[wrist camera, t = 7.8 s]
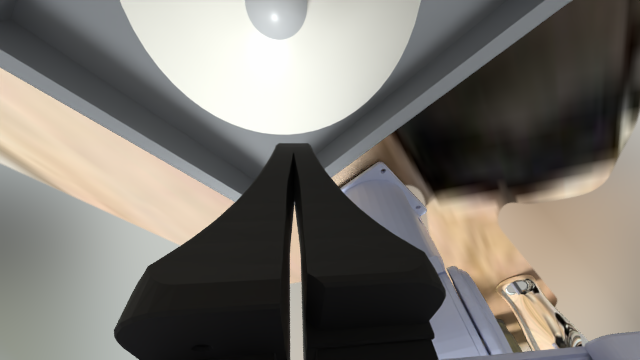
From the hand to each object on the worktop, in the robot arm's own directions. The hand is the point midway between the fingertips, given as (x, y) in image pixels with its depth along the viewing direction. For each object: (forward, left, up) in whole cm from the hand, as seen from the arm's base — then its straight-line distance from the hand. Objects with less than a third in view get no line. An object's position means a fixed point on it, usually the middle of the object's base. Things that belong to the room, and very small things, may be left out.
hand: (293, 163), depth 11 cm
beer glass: (-49, -3, -10) cm, 50 cm away
